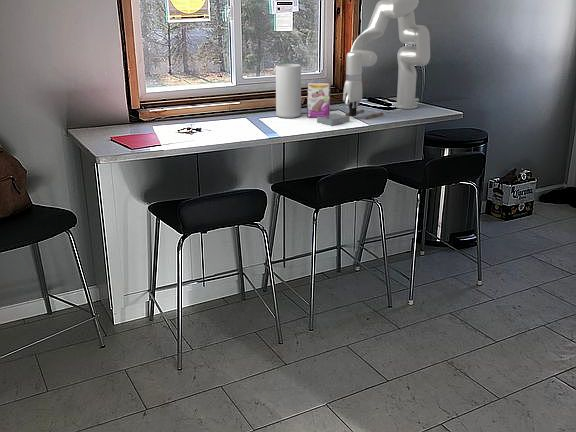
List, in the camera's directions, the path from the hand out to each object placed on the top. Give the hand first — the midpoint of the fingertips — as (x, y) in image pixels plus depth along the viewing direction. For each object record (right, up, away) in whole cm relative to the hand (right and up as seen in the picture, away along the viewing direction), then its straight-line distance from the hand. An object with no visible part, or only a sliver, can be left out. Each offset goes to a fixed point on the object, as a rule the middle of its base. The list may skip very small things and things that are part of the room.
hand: (352, 115), depth 312 cm
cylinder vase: (-32, +1, +8) cm, 33 cm away
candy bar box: (-17, 0, +5) cm, 17 cm away
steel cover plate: (-10, -4, -7) cm, 13 cm away
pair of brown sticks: (+7, +1, +7) cm, 9 cm away
